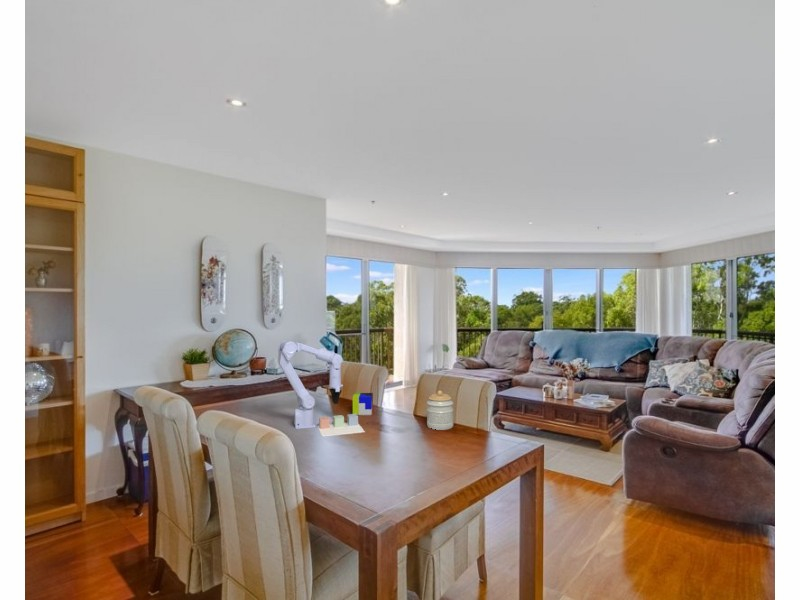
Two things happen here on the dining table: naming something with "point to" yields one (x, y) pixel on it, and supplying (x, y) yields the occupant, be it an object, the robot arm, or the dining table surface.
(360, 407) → the puzzle toy
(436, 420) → the jar
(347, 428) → the mat
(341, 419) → the sage block
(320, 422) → the terracotta block
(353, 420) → the slate block
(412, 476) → the dining table surface
